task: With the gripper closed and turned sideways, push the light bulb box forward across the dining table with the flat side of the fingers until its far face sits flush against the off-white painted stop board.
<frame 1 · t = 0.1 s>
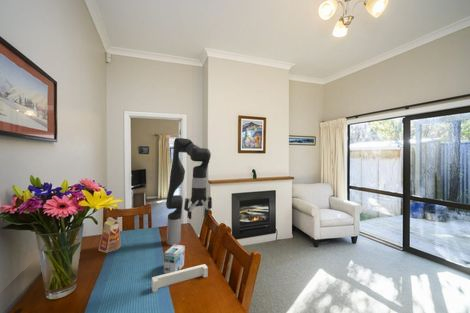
hand: (197, 217, 102), 29 cm above the table, fingers open, 8 cm apart
stop board: (180, 280, 96), on the table
light bulb box: (174, 269, 106), on the table
milk carton: (110, 249, 126), on the table
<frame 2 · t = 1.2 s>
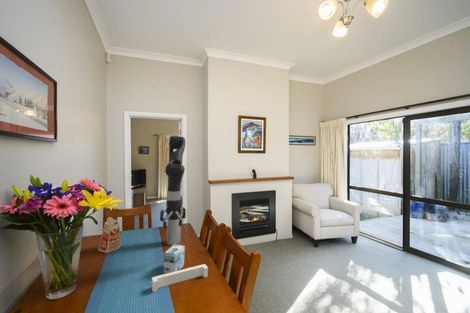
hand: (172, 226, 114), 20 cm above the table, fingers open, 8 cm apart
nothing on the table moved.
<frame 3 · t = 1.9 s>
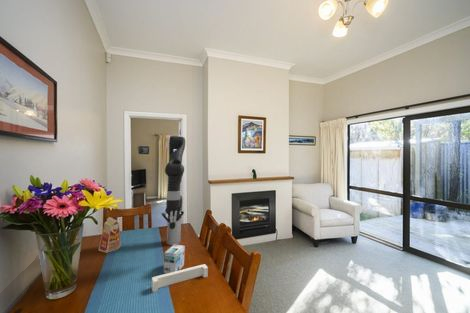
hand: (172, 228, 113), 19 cm above the table, fingers closed
nothing on the table moved.
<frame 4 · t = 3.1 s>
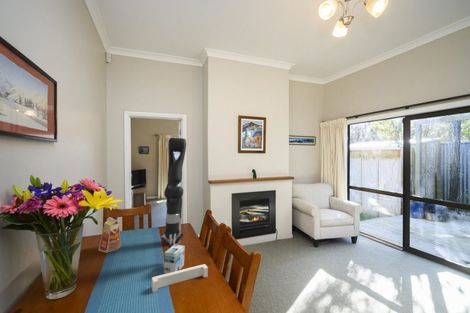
hand: (171, 251, 113), 6 cm above the table, fingers closed
nothing on the table moved.
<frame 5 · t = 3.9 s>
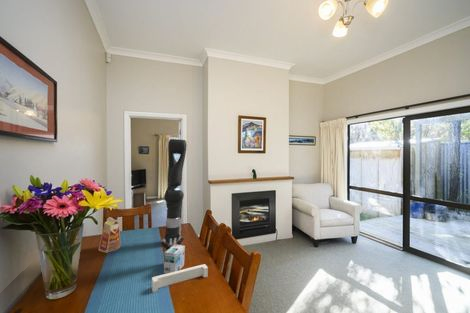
hand: (171, 255, 112), 4 cm above the table, fingers closed
light bulb box: (174, 269, 106), on the table, touching gripper
everything else where it was.
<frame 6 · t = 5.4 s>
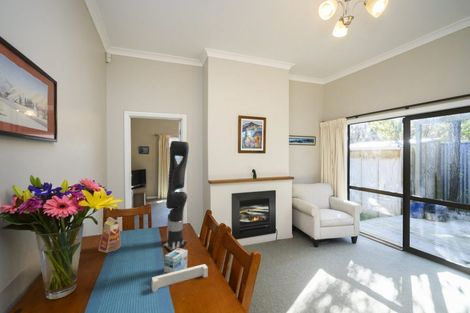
hand: (174, 260, 107), 4 cm above the table, fingers closed
light bulb box: (175, 274, 101), on the table, touching gripper, hand
everything else where it was.
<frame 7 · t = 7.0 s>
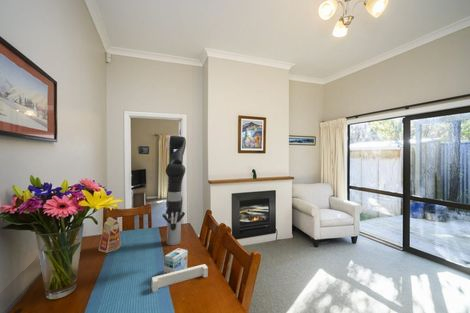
hand: (172, 229, 112), 19 cm above the table, fingers closed
light bulb box: (175, 274, 101), on the table
everything else where it was.
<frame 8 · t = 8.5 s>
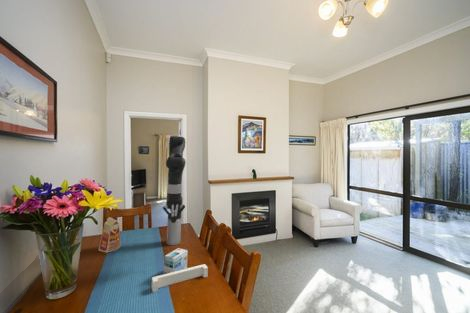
hand: (173, 222, 112), 23 cm above the table, fingers closed
nothing on the table moved.
at the end: light bulb box 1.0 cm from the target spot on the table beside the stop board, on the table; light bulb box tilted 0° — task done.
